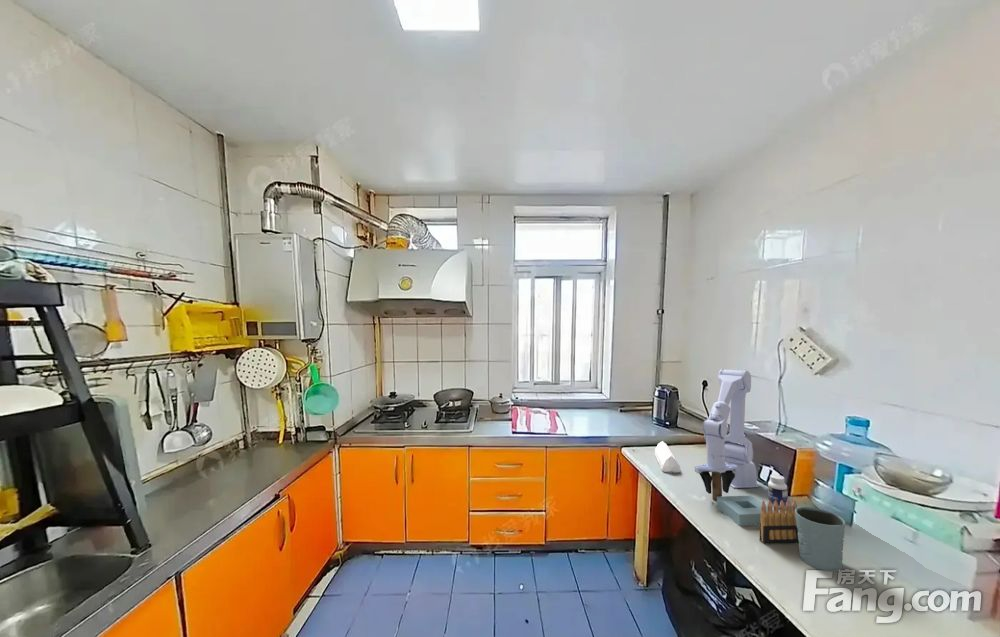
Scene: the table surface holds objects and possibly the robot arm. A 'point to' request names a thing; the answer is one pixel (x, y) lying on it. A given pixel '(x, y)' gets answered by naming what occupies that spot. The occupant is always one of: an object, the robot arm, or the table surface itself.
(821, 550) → the grey plant pot
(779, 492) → the pill bottle
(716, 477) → the walnut peg
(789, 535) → the ammunition clip
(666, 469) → the crystal
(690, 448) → the table surface
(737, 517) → the socket block
